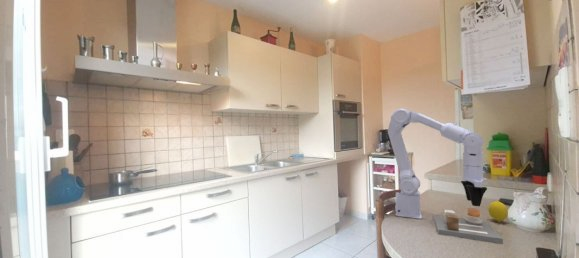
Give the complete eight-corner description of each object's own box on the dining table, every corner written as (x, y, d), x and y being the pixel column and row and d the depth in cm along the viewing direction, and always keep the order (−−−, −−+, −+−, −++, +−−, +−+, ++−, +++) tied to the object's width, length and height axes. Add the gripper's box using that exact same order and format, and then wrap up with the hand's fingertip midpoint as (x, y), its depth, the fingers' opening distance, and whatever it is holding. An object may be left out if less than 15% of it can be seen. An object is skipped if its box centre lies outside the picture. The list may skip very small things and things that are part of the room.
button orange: (468, 216, 87) (468, 210, 87) (466, 213, 90) (466, 207, 90) (481, 217, 86) (481, 211, 86) (478, 214, 89) (478, 208, 89)
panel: (438, 234, 82) (438, 226, 82) (433, 218, 96) (432, 212, 96) (502, 243, 74) (502, 235, 74) (486, 225, 89) (486, 218, 89)
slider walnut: (448, 228, 82) (447, 217, 82) (446, 225, 84) (446, 214, 84) (458, 230, 80) (458, 218, 80) (456, 227, 83) (456, 215, 83)
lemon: (511, 225, 89) (511, 203, 89) (494, 224, 90) (494, 202, 90) (501, 219, 94) (501, 199, 94) (485, 218, 95) (485, 198, 95)
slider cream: (445, 223, 87) (445, 212, 87) (444, 220, 89) (444, 209, 89) (455, 224, 85) (455, 213, 85) (453, 221, 88) (453, 210, 88)
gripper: (493, 169, 80) (494, 210, 80) (480, 163, 93) (481, 199, 93) (467, 168, 83) (467, 207, 83) (458, 162, 96) (459, 197, 96)
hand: (473, 203), depth 88 cm, fingers open, 6 cm apart
